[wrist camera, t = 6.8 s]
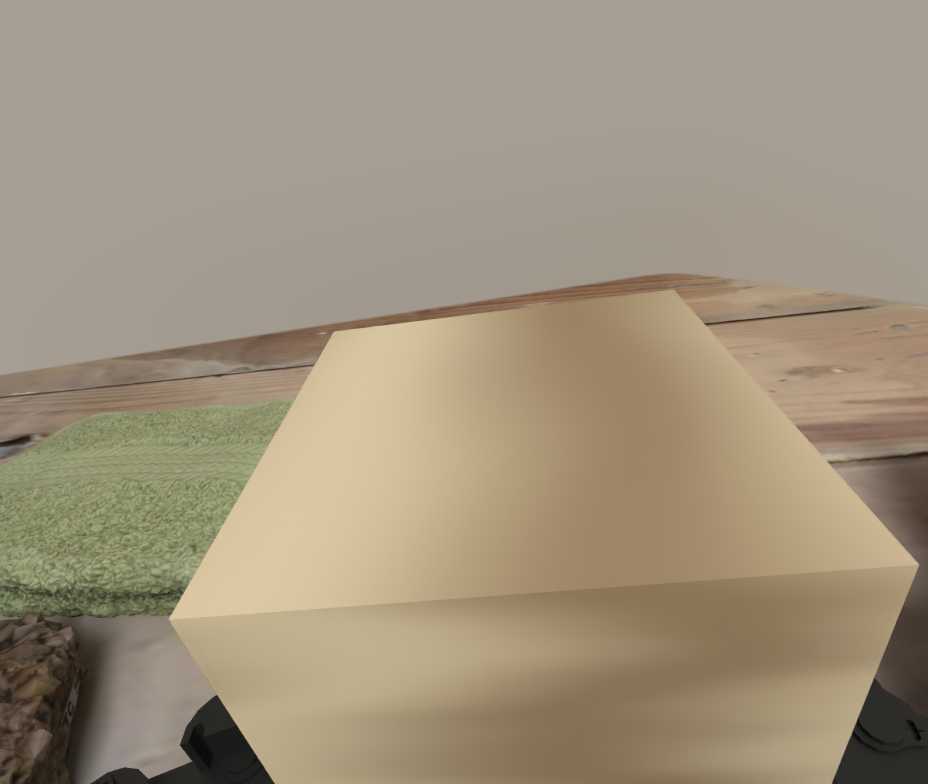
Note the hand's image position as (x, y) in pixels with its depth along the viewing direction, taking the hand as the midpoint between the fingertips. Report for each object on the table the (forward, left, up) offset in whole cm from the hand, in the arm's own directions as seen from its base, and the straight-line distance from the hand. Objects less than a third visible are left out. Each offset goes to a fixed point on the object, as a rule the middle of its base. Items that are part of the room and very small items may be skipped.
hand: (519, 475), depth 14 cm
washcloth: (-19, +8, -7) cm, 22 cm away
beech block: (0, -5, -7) cm, 8 cm away
